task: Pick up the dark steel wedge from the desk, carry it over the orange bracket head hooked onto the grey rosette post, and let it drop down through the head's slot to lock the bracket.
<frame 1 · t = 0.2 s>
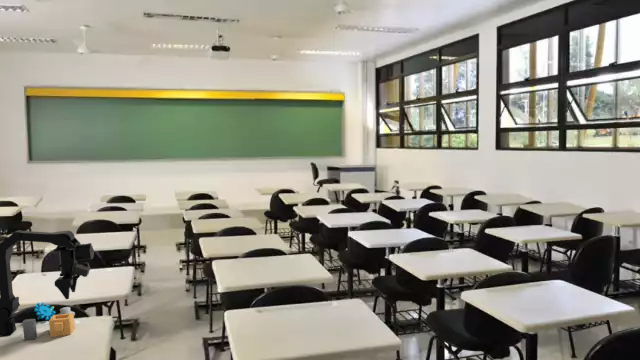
hand: (70, 295, 214), 14 cm above the table, tool pointing down, fingers open, 9 cm apart
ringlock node: (63, 332, 210), on the table
gear: (46, 319, 226), on the table
wedge: (30, 338, 205), on the table
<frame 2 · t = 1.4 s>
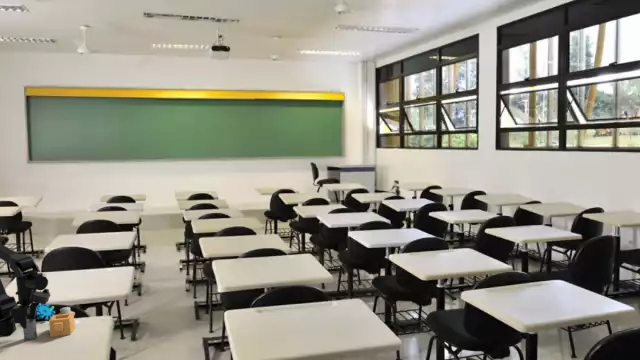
hand: (29, 323, 204), 6 cm above the table, tool pointing down, fingers open, 9 cm apart
nothing on the table moved.
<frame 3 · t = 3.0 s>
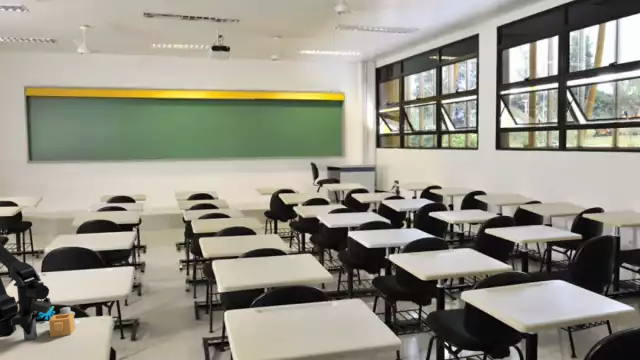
hand: (30, 332, 204), 3 cm above the table, tool pointing down, fingers closed on wedge, 2 cm apart
wedge: (30, 338, 205), on the table, touching gripper
everything else where it was.
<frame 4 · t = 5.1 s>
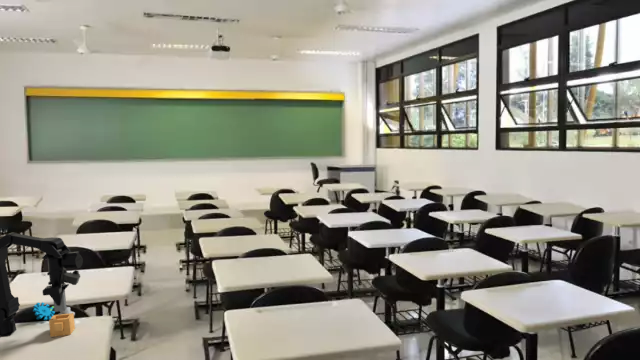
hand: (59, 304, 208), 13 cm above the table, tool pointing down, fingers closed on wedge, 2 cm apart
wedge: (60, 310, 209), point 10 cm above the table, touching gripper
everything else where it was.
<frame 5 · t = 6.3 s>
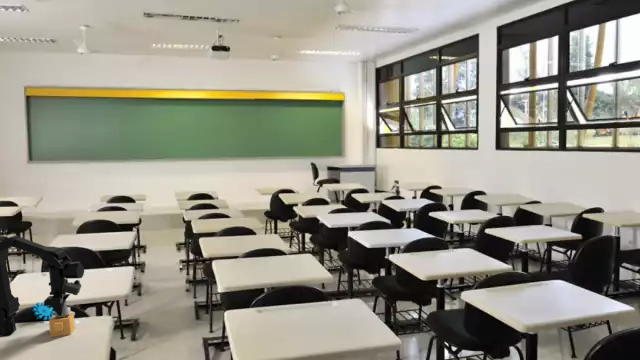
hand: (61, 314, 209), 8 cm above the table, tool pointing down, fingers closed on wedge, 2 cm apart
wedge: (61, 320, 209), point 5 cm above the table, touching gripper
everything else where it was.
when the fingers open (8 cm above the table, at t = 7.3 s): wedge drops 5 cm, resting in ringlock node.
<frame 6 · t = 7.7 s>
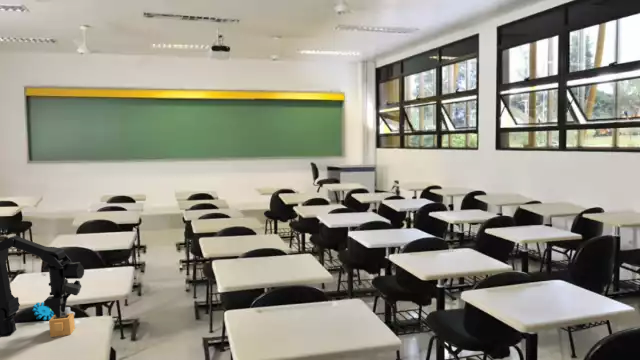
hand: (61, 314, 209), 8 cm above the table, tool pointing down, fingers open, 6 cm apart
wedge: (63, 332, 210), resting in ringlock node
everything else where it was.
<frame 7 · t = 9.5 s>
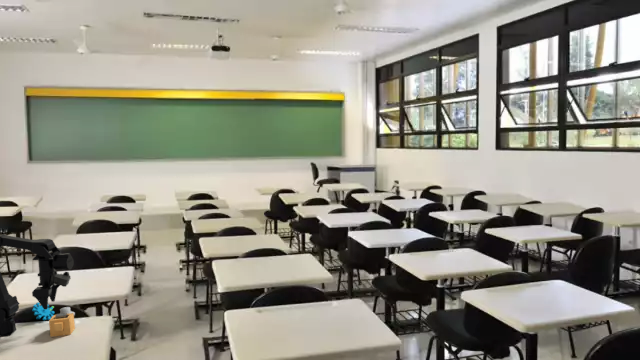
hand: (49, 305, 210), 12 cm above the table, tool pointing down, fingers open, 9 cm apart
nothing on the table moved.
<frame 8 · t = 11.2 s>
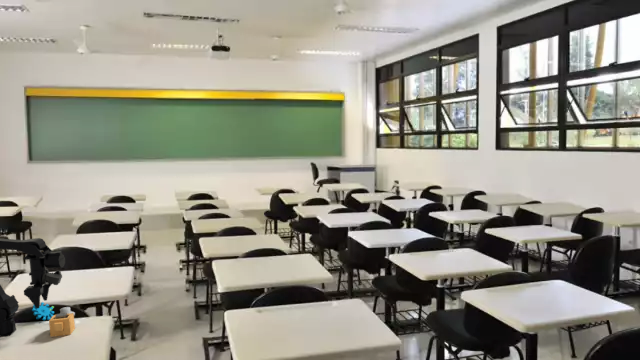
hand: (41, 304, 211), 12 cm above the table, tool pointing down, fingers open, 9 cm apart
at the end: wedge 0.1 cm off-centre on the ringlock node, point 0.0 cm above the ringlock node's base; wedge tilted 0°; the gripper is holding nothing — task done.
